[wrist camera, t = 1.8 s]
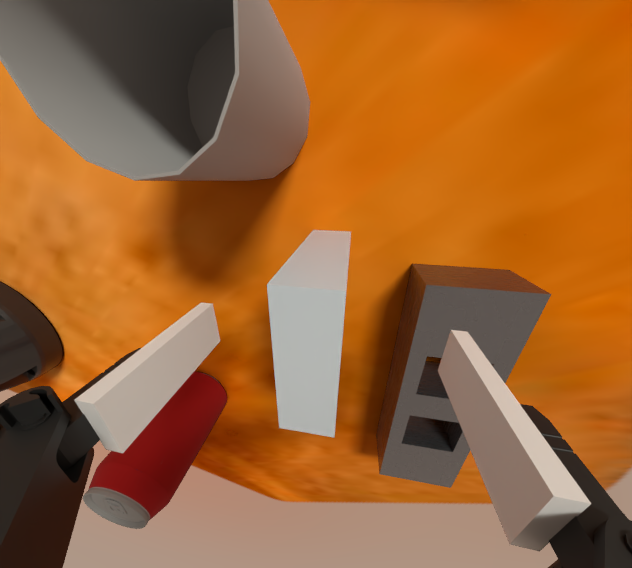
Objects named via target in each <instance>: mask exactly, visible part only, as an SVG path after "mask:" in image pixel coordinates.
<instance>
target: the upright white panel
mask: <svg viewBox="0 0 632 568" xmlns="http://www.w3.org/2000/svg"><path fill="white" fill-rule="evenodd" d="M350 239H351V232H348V231H327V230H313V231H312V232H311V233H310V234H309V236H308V237H307V238H306V239H305V240H304V241H303V243H302V244H301V245H300V246H299V247H298V248H297V250H296V251H295V252H294V253H293V254H292V256H291V257H290V258H289V259H288V260H287V261H286V263H285V264H284V265H283V266H282V267H281V268H280V270H279V271H278V272H277V273H276V274H275V275H274V277H273V278H272V279H271V280H270V281H269V283H268V284H267V292H268V304H269V315H270V327H271V338H272V350H273V362H274V373H275V385H276V397H277V408H278V420H279V428H283V429H289V430H294V431H300V432H306V433H311V434H317V435H323V436H329V437H334V436H335V424H336V411H337V399H338V387H339V374H340V362H341V350H342V338H343V325H344V313H345V301H346V288H347V276H348V264H349V252H350Z"/></svg>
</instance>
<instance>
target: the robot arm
mask: <svg viewBox="0 0 632 568" xmlns="http://www.w3.org/2000/svg"><path fill="white" fill-rule="evenodd" d="M219 342H220V337H219V332H218V327H217V322H216V317H215V312H214V308H213V304H210V303H200V304H198V305H197V306H196V307H195V308H193V309H192V310H191V311H189V312H188V313H187V314H185V315H184V316H183V317H182V318H180V319H179V320H178V321H176V322H175V323H174V324H172V325H171V326H170V327H168V328H167V329H166V330H165V331H163V332H162V333H161V334H159V335H158V336H157V337H155V338H154V339H153V340H152V341H150V342H149V343H148V344H146V345H145V346H144V347H142V348H139V349H137V350H135V351H133V352H131V353H129V354H127V355H125V356H124V357H123V358H121V359H120V360H119V361H117V362H116V363H115V364H114V365H112V366H111V367H109V368H108V369H107V370H105V372H104V373H101V374H100V375H98V376H97V377H96V378H94V379H93V380H92V381H90V382H89V383H88V384H86V385H85V386H84V387H82V388H81V389H80V390H78V391H77V392H76V393H74V394H73V395H72V396H70V397H69V398H68V399H66V400H65V401H63V402H61V400H60V399H59V397H58V396H57V395H56V393H55V392H54V390H53V389H52V388H51V387H50V386H40V387H35V388H31V389H29V390H26V391H23V392H21V393H19V394H17V395H15V396H13V397H11V398H9V399H7V400H6V401H4V402H3V403H1V404H0V568H62V567H63V564H64V560H65V557H66V553H67V550H68V546H69V542H70V539H71V535H72V532H73V528H74V525H75V521H76V517H77V514H78V510H79V507H80V503H81V500H82V496H83V492H84V489H85V485H86V482H87V478H88V474H89V471H90V467H91V464H92V460H93V456H94V449H93V446H94V445H95V444H96V443H97V442H98V441H99V440H100V441H101V442H102V444H103V446H104V447H105V449H106V450H111V451H115V452H119V453H124V452H125V450H126V449H127V448H128V447H129V446H130V445H131V444H132V442H133V441H134V440H135V439H136V438H137V437H138V435H139V434H140V433H141V432H142V431H143V430H144V429H145V427H146V426H147V425H148V424H149V423H150V422H151V420H152V419H153V418H154V417H155V416H156V415H157V414H158V412H159V411H160V410H161V409H162V408H163V407H164V405H165V404H166V403H167V402H168V401H169V400H170V399H171V397H172V396H173V395H174V394H175V393H176V392H177V390H178V389H179V388H180V387H181V386H182V385H183V384H184V382H185V381H186V380H187V379H188V378H189V377H190V375H191V374H192V373H193V372H194V371H195V370H196V369H197V367H198V366H199V365H200V364H201V363H202V362H203V360H204V359H205V358H206V357H207V356H208V355H209V354H210V352H211V351H212V350H213V349H214V348H215V347H216V345H217V344H218V343H219ZM62 355H63V353H62V346H61V343H60V340H59V338H58V336H57V334H56V332H55V331H54V329H53V327H52V326H51V324H50V323H49V322H48V321H47V319H46V318H45V317H44V316H43V315H42V314H41V312H40V311H39V310H38V309H37V308H36V307H35V306H34V305H32V304H31V303H30V302H29V301H28V300H27V299H25V298H24V297H23V296H22V295H20V294H19V293H18V292H16V291H15V290H13V289H12V288H10V287H9V286H7V285H5V284H3V283H2V282H0V392H1V391H3V390H6V389H9V388H12V387H14V386H17V385H20V384H22V383H25V382H28V381H31V380H33V379H35V378H37V377H39V376H41V375H43V374H44V373H46V372H48V371H49V370H51V369H52V368H54V367H56V366H57V365H58V364H59V363H60V362H61V360H62ZM438 373H439V375H440V377H441V380H442V382H443V385H444V387H445V390H446V392H447V394H448V397H449V399H450V402H451V404H452V406H453V409H454V411H455V414H456V416H457V418H458V421H459V423H460V426H461V428H462V431H463V433H464V435H465V438H466V440H467V443H468V445H469V447H470V450H471V452H472V455H473V457H474V460H475V462H476V464H477V467H478V469H479V472H480V474H481V476H482V479H483V481H484V484H485V486H486V488H487V491H488V493H489V496H490V498H491V501H492V503H493V505H494V508H495V510H496V513H497V515H498V517H499V520H500V522H501V525H502V527H503V529H504V532H505V534H506V537H507V539H508V541H509V544H511V545H515V546H519V547H523V548H528V549H532V550H537V551H540V550H542V549H543V548H544V547H545V546H546V545H547V544H548V543H549V542H550V544H551V546H552V548H553V550H554V552H555V553H556V555H557V557H558V560H557V561H555V562H554V563H553V564H552V565H551V566H549V567H548V568H632V521H630V520H629V519H628V518H627V517H626V516H625V515H624V514H623V513H622V511H621V510H620V509H619V508H618V507H617V505H616V504H615V503H614V501H613V500H612V499H611V498H610V496H609V495H608V494H607V493H606V491H605V490H604V489H603V488H602V486H601V485H600V484H599V483H598V481H597V480H596V479H595V477H594V476H593V475H592V474H591V472H590V471H589V470H588V469H587V467H586V466H585V465H584V464H583V462H582V461H581V460H580V459H579V457H578V456H577V455H576V454H574V453H573V450H572V449H571V447H570V446H569V445H568V443H567V442H566V441H565V440H563V439H562V436H561V435H560V433H559V432H558V431H557V430H556V428H555V427H554V426H553V425H552V423H551V422H550V421H549V420H548V419H547V418H546V417H545V416H543V415H542V414H541V413H540V412H539V411H538V410H536V409H535V408H534V407H533V406H529V405H523V404H519V402H518V401H517V400H516V398H515V397H514V395H513V394H512V393H511V391H510V390H509V389H508V387H507V386H506V384H505V383H504V382H503V380H502V379H501V377H500V376H499V375H498V373H497V372H496V370H495V369H494V368H493V366H492V365H491V364H490V362H489V361H488V359H487V358H486V357H485V355H484V354H483V352H482V351H481V350H480V348H479V347H478V345H477V344H476V343H475V341H474V340H473V339H472V337H471V336H470V334H469V333H468V332H466V331H457V330H451V331H450V334H449V337H448V341H447V344H446V347H445V350H444V353H443V356H442V359H441V362H440V365H439V368H438Z"/></svg>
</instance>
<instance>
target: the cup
mask: <svg viewBox="0 0 632 568" xmlns="http://www.w3.org/2000/svg"><path fill="white" fill-rule="evenodd" d="M0 60H1V62H2V63H3V65H4V66H5V68H6V69H7V71H8V72H9V74H10V76H11V77H12V79H13V80H14V82H15V83H16V85H17V86H18V88H19V89H20V91H21V92H22V94H23V95H24V97H25V98H26V100H27V101H28V103H29V104H30V106H31V107H32V109H33V110H34V112H35V113H36V115H37V117H38V118H39V119H40V120H41V121H43V122H44V123H45V124H46V125H47V126H48V127H49V128H50V129H51V130H53V131H54V132H55V133H56V134H57V135H58V136H59V137H60V138H61V139H63V140H64V141H65V142H66V143H67V144H68V145H69V146H70V147H71V148H73V149H74V150H75V151H76V152H77V153H78V154H79V155H80V156H81V157H83V158H84V159H85V160H86V161H88V162H90V163H93V164H95V165H98V166H100V167H103V168H105V169H108V170H110V171H112V172H115V173H117V174H120V175H122V176H125V177H127V178H130V179H132V180H150V181H252V180H260V179H268V178H274V177H275V176H277V175H278V174H279V173H281V172H282V171H283V170H285V169H286V168H287V167H289V166H290V165H291V164H293V163H294V161H295V159H296V157H297V155H298V153H299V151H300V149H301V148H302V146H303V144H304V142H305V140H306V138H307V132H308V121H309V110H310V100H309V97H308V93H307V89H306V86H305V82H304V78H303V75H302V71H301V68H300V65H299V63H298V61H297V59H296V57H295V55H294V53H293V51H292V49H291V47H290V45H289V43H288V40H287V38H286V36H285V34H284V32H283V30H282V28H281V26H280V24H279V22H278V20H277V18H276V16H275V14H274V11H273V9H272V7H271V5H270V3H269V1H268V0H0Z"/></svg>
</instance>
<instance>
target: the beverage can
mask: <svg viewBox="0 0 632 568" xmlns="http://www.w3.org/2000/svg"><path fill="white" fill-rule="evenodd" d="M226 402H227V395H226V392H225V390H224V388H223V387H222V385H221V384H220V383H219V381H218V380H216V379H215V378H214V377H212V376H210V375H208V374H205V373H200V372H193V373H192V374H191V375H190V377H189V378H188V379H187V380H186V381H185V382H184V384H183V385H182V386H181V387H180V388H179V389H178V390H177V392H176V393H175V394H174V395H173V396H172V397H171V399H170V400H169V401H168V402H167V403H166V404H165V405H164V407H163V408H162V409H161V410H160V411H159V412H158V414H157V415H156V416H155V417H154V418H153V419H152V420H151V422H150V423H149V424H148V425H147V426H146V427H145V429H144V430H143V431H142V432H141V433H140V434H139V435H138V437H137V438H136V439H135V440H134V441H133V442H132V444H131V445H130V446H129V447H128V448H127V449H126V450H125V452H124V453H119V452H115V451H111V452H110V453H109V454H108V456H107V457H106V458H105V459H104V460H103V461H102V462H101V463H100V465H99V466H98V467H97V469H96V472H95V474H94V476H93V479H92V482H91V484H90V486H89V490H88V491H87V492H86V493H85V495H84V496H83V500H84V502H85V504H86V505H87V506H88V507H89V508H90V509H92V510H93V511H94V512H95V513H97V514H98V515H100V516H101V517H103V518H105V519H107V520H109V521H111V522H114V523H116V524H119V525H121V526H125V527H129V528H135V529H137V528H139V529H140V528H143V527H145V526H146V524H147V523H148V521H149V520H150V519H151V518H153V517H154V516H155V515H156V514H157V513H158V512H159V511H161V510H162V509H163V508H164V507H165V506H166V505H167V504H168V503H169V502H170V500H171V498H172V497H173V495H174V493H175V491H176V490H177V488H178V486H179V485H180V483H181V481H182V480H183V478H184V476H185V474H186V473H187V471H188V469H189V468H190V466H191V464H192V462H193V461H194V459H195V457H196V456H197V454H198V452H199V450H200V449H201V447H202V445H203V443H204V442H205V440H206V438H207V436H208V435H209V433H210V431H211V429H212V428H213V426H214V424H215V422H216V421H217V419H218V417H219V415H220V414H221V412H222V410H223V408H224V406H225V405H226Z"/></svg>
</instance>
